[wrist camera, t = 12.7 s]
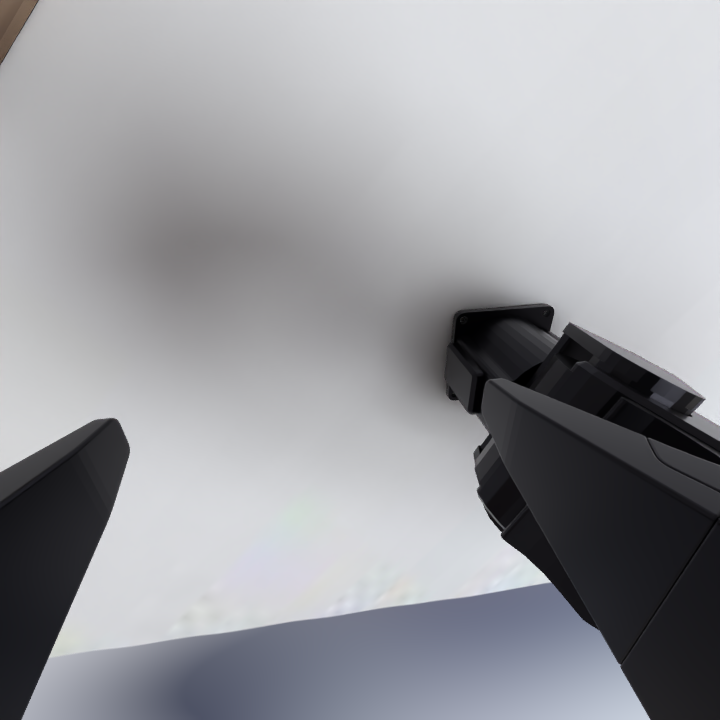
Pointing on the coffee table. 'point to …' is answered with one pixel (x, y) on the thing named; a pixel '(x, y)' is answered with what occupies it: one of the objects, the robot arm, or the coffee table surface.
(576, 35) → the coffee table surface
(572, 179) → the coffee table surface
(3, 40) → the organiser
